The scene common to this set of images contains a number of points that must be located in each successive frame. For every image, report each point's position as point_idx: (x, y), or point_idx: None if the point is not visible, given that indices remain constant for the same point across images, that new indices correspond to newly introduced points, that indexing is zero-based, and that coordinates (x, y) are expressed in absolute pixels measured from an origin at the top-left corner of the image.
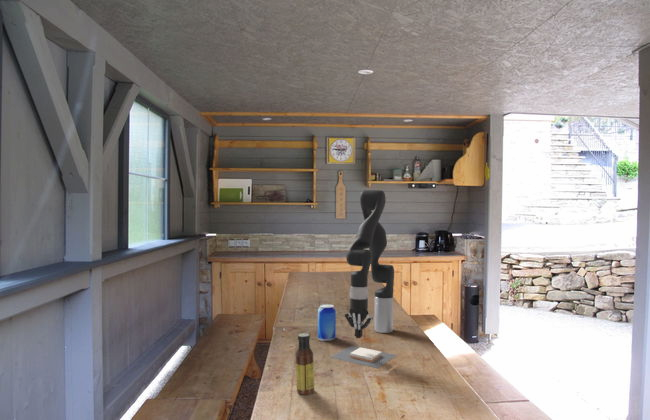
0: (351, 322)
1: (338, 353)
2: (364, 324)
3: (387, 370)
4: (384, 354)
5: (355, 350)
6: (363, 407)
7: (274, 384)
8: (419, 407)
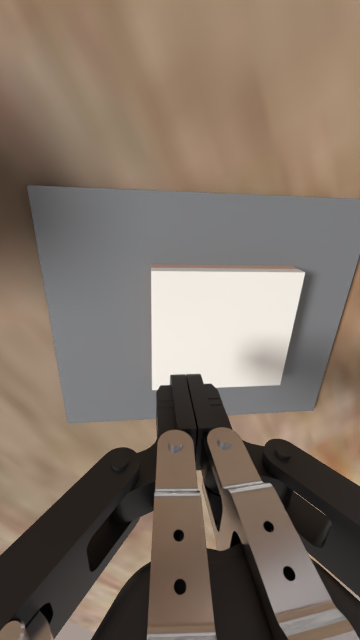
0: (112, 555)
1: (64, 361)
2: (310, 542)
3: (346, 389)
4: (302, 231)
5: (154, 339)
6: (327, 571)
7: (80, 608)
8: None
